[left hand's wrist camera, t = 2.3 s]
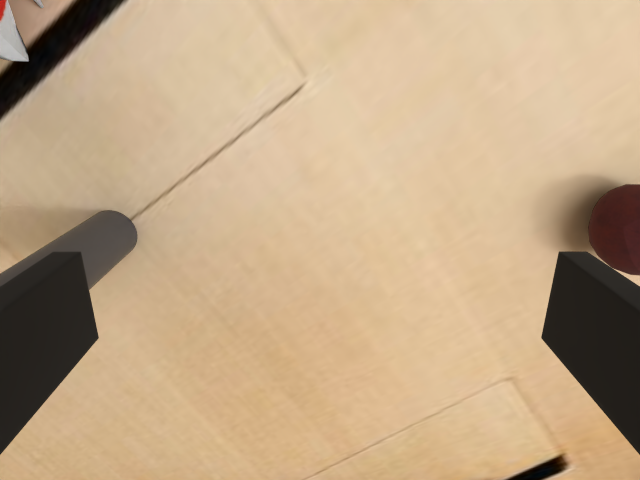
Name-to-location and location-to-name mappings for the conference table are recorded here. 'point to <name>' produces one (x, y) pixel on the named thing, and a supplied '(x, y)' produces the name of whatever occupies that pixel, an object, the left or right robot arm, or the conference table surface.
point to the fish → (11, 35)
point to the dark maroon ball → (618, 229)
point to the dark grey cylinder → (88, 246)
